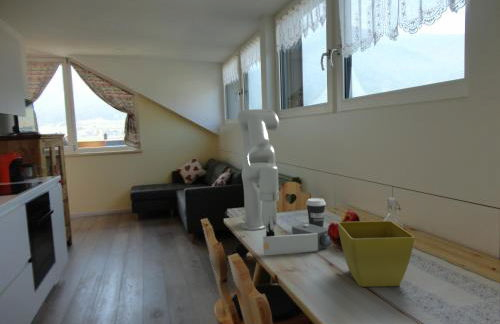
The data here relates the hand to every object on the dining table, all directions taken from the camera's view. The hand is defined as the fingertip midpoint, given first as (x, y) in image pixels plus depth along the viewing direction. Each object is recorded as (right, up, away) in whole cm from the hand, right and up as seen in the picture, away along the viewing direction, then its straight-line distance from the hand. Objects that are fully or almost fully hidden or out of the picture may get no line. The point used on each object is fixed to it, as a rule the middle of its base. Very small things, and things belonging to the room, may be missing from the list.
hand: (270, 240), depth 137 cm
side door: (+8, -4, -2) cm, 9 cm away
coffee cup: (+24, -2, +29) cm, 38 cm away
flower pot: (+32, -7, -25) cm, 42 cm away
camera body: (+18, -4, +9) cm, 21 cm away
